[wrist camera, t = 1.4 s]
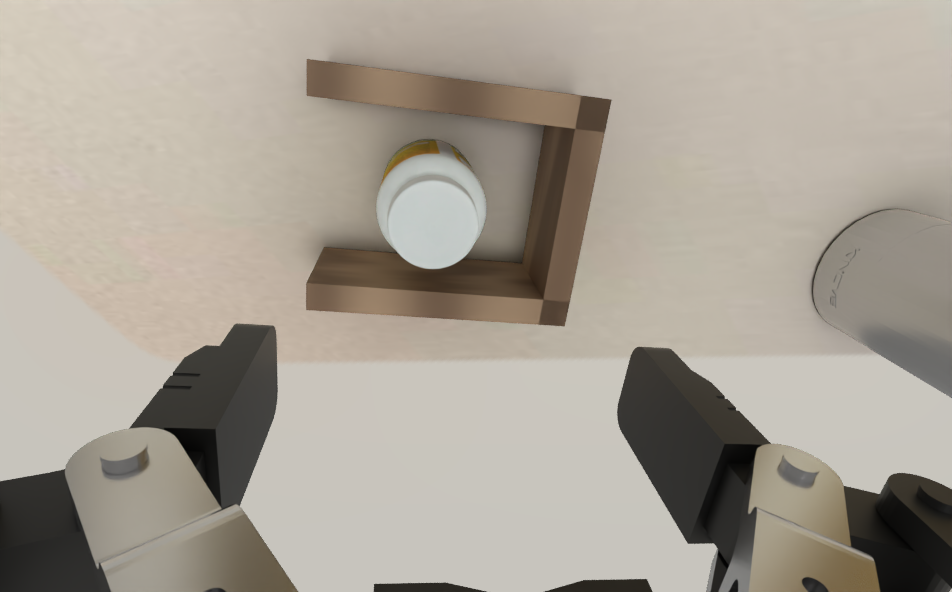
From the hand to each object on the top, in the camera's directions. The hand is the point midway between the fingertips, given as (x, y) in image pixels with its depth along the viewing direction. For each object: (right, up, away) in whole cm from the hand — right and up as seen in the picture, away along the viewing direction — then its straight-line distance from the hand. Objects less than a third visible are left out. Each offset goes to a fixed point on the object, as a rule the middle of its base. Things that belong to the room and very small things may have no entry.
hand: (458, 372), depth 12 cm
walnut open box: (-1, +8, +20) cm, 22 cm away
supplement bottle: (-2, +9, +20) cm, 22 cm away
